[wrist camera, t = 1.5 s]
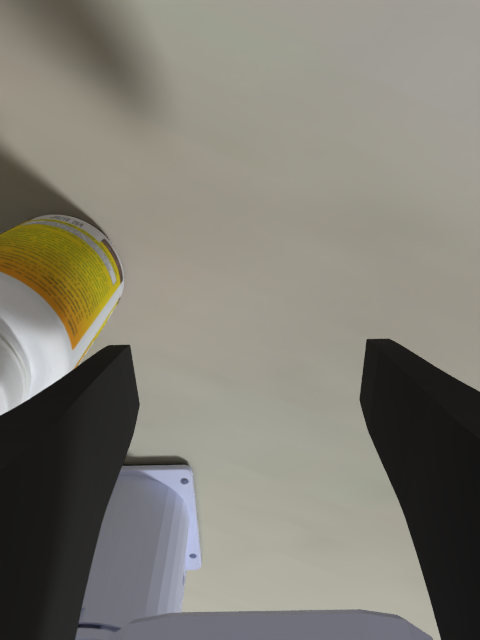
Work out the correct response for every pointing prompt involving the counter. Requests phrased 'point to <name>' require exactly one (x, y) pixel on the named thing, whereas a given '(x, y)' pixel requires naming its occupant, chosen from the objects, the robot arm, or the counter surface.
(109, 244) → the supplement bottle
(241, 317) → the counter surface
